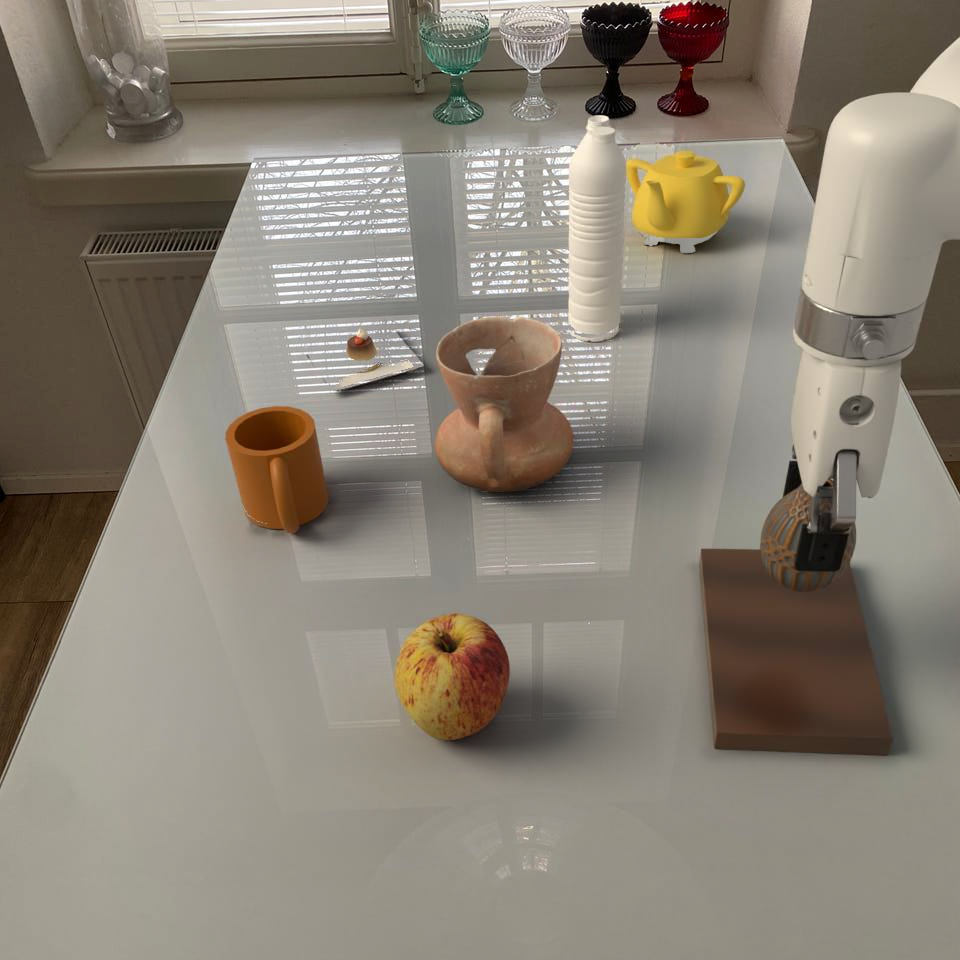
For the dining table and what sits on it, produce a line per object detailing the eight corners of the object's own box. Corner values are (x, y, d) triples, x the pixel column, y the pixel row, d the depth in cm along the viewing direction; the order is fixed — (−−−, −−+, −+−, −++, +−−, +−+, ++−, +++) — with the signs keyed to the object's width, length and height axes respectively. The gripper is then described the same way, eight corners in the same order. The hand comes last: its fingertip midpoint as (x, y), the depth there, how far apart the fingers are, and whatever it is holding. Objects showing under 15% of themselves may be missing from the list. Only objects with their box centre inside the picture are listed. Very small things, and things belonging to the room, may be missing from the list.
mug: (235, 553, 98) (212, 478, 92) (250, 481, 107) (230, 408, 100) (325, 546, 98) (308, 471, 92) (333, 475, 106) (318, 402, 100)
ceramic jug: (454, 419, 113) (443, 301, 103) (581, 425, 110) (583, 304, 100) (419, 517, 100) (403, 393, 90) (562, 525, 98) (561, 399, 88)
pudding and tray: (332, 400, 117) (325, 363, 114) (303, 355, 125) (296, 320, 122) (426, 373, 120) (422, 337, 117) (391, 332, 128) (387, 297, 125)
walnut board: (698, 564, 93) (700, 548, 91) (842, 567, 91) (847, 550, 90) (714, 749, 77) (716, 732, 76) (887, 755, 76) (893, 739, 74)
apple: (502, 769, 77) (495, 682, 70) (390, 757, 79) (372, 671, 71) (519, 683, 83) (515, 596, 76) (415, 674, 85) (401, 587, 78)
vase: (861, 571, 78) (887, 479, 72) (816, 618, 75) (839, 526, 68) (784, 536, 82) (801, 446, 75) (737, 579, 78) (752, 489, 72)
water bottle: (565, 320, 128) (565, 110, 110) (616, 316, 128) (624, 105, 110) (573, 353, 121) (574, 136, 104) (626, 349, 121) (636, 132, 104)
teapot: (613, 228, 147) (615, 143, 138) (705, 214, 148) (713, 129, 140) (643, 267, 137) (647, 178, 129) (741, 252, 138) (752, 163, 130)
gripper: (951, 388, 56) (881, 616, 69) (892, 255, 68) (842, 469, 81) (815, 389, 57) (770, 613, 70) (781, 257, 69) (748, 468, 82)
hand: (809, 534), depth 75 cm, fingers closed on vase, 6 cm apart
